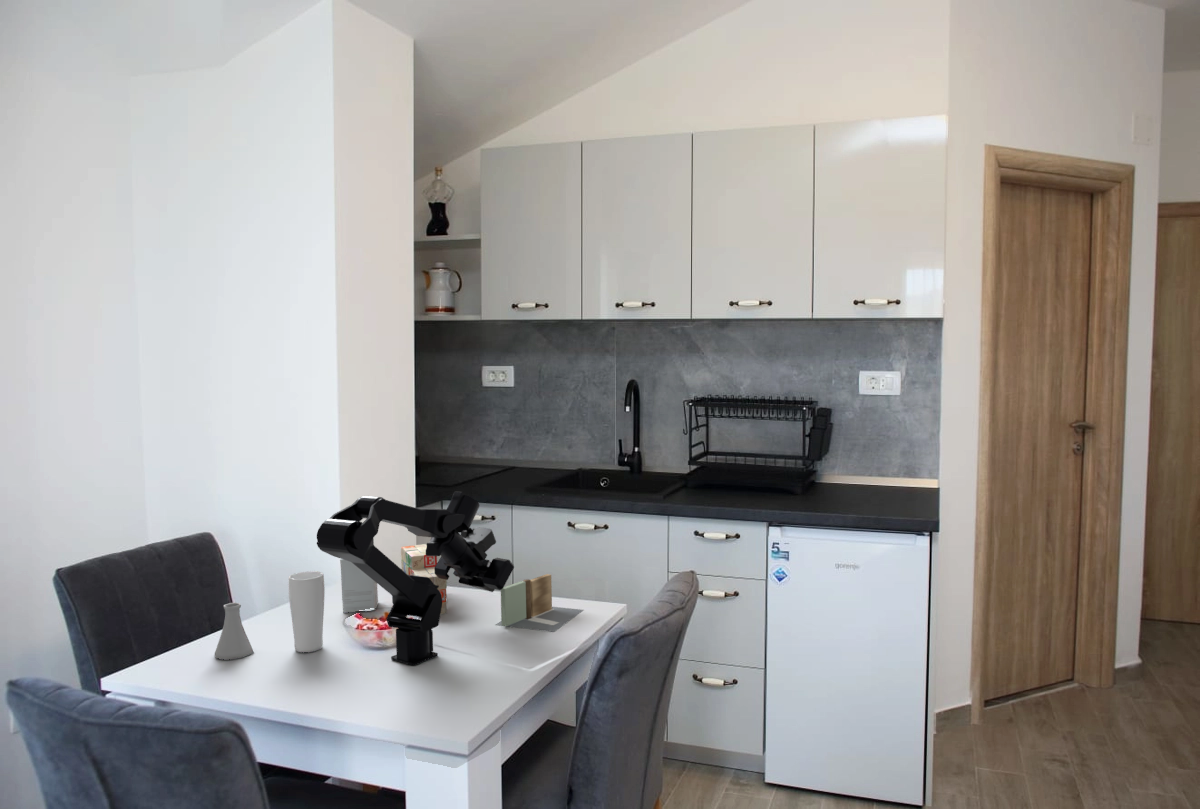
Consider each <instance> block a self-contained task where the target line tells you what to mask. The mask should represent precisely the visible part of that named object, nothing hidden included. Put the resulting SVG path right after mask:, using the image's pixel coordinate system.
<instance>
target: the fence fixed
mask: <svg viewBox="0 0 1200 809" xmlns="http://www.w3.org/2000/svg"><path fill="white" fill-rule="evenodd" d="M523 582H526V618H525V619H531V616H532V617H534V616H536V615H539V614H541V613H544V612H546V611H549V610H551V609H552V607H553V598H552V597H553V594H552V592H553V591H552V574H549V573H546V574H543V575H541V576H537V577H535V578H531V579H529V578H527V579H523Z"/></svg>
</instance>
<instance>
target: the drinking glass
mask: <svg viewBox="0 0 1200 809" xmlns="http://www.w3.org/2000/svg"><path fill="white" fill-rule="evenodd" d="M287 585H288V600H289V609H290V614H291V615H290V616H291V622H292V631H293V640H294V649H295V651H296V652H298V653H302V652H303V653H304V652H308V653H313V651H314V652H316V651H319V650H320V649H322V647H323V645H324V644H323V643H324V642H323V640H324V639H323V638H324V637H323V635H324V633H323V632H324V614H325V613H324V611H325V598H326V597H325V594H326V593H325V592H326V591H325V590H326V589H325V577H324V573H323V572H322V571H315V570H310V571H309V570H308V571H299V572H297V573H293V574H290V575H289V576H288V584H287Z"/></svg>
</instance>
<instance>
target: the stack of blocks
mask: <svg viewBox="0 0 1200 809" xmlns="http://www.w3.org/2000/svg"><path fill="white" fill-rule="evenodd" d="M426 548H427V543H423V544H414V545H406V546H400V557H401V558H400V560H401V561H400V562H401V563H400V564H401V567H400V568H401V569H402V570H403V571H404V572H405V573H406V574H407V575H414V576H422V577H428V578H429V579H430V580H431V581H432V582H433V584H435V585H438V586H439V587H438V588H437V589H438V590H439V591H440V593H441V595H442V596H441V598H442V608H441V614H440V615H447V614H448V613H447V586H448V585H447V584H448V583H447V582H448V580H445V579H440V578H438V577H437V576H436V575H435V570H434V568H435V566H436V564H437V563H438V556H426ZM421 618H422V617H420V618H419V619H421Z"/></svg>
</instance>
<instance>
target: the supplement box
mask: <svg viewBox="0 0 1200 809" xmlns="http://www.w3.org/2000/svg"><path fill="white" fill-rule="evenodd" d="M339 561H340V577H341V578H340V579H341V580H340V581H341V600H342V613H343V614H347V613H348V612H349V613H356V612H355V611H359V610H365V609H370V608H377V606H378V604H379V594H378V592H379V591H378V584H377V583H376V582H375V581H374V580H373V579H371V578H370V577H369V576H368V575H366V574H365V573H364V572H363V571H361V570H360V569H359V568H358V567H357V566H355V565H354V564H353V563H352V562H350V561H347V560H344V559H341V558H339ZM352 611H353V612H352Z"/></svg>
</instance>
